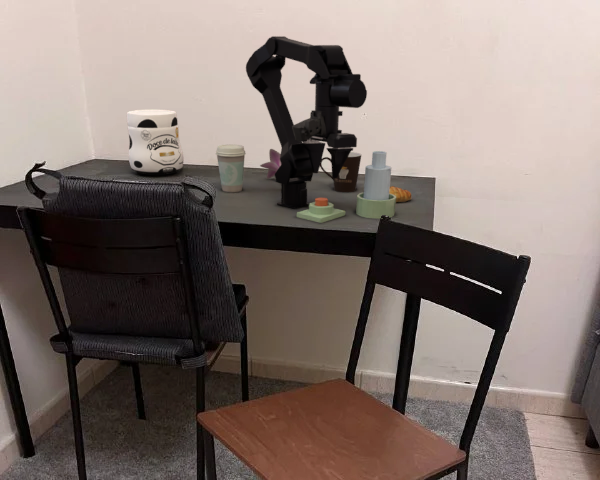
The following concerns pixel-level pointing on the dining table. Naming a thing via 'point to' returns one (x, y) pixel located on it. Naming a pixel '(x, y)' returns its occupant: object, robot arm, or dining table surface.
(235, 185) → the coffee cup
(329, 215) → the panel
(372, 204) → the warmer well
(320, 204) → the button
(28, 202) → the dining table surface
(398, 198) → the pastry
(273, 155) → the lily
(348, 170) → the coffee mug
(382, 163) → the bottle
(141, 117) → the doce de leite jar
